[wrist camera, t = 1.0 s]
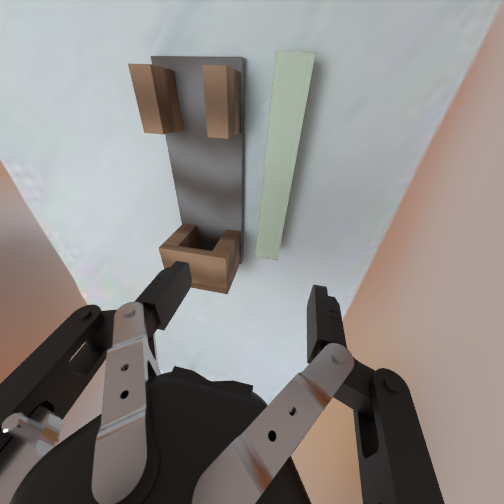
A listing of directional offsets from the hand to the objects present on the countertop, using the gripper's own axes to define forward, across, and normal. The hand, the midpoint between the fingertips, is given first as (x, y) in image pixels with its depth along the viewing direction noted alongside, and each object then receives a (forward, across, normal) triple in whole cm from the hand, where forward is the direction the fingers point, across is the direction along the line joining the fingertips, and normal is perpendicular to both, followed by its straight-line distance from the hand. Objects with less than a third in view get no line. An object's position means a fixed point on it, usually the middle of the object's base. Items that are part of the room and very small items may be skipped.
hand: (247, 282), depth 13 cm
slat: (+16, 0, -2) cm, 17 cm away
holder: (+16, +9, 0) cm, 18 cm away
